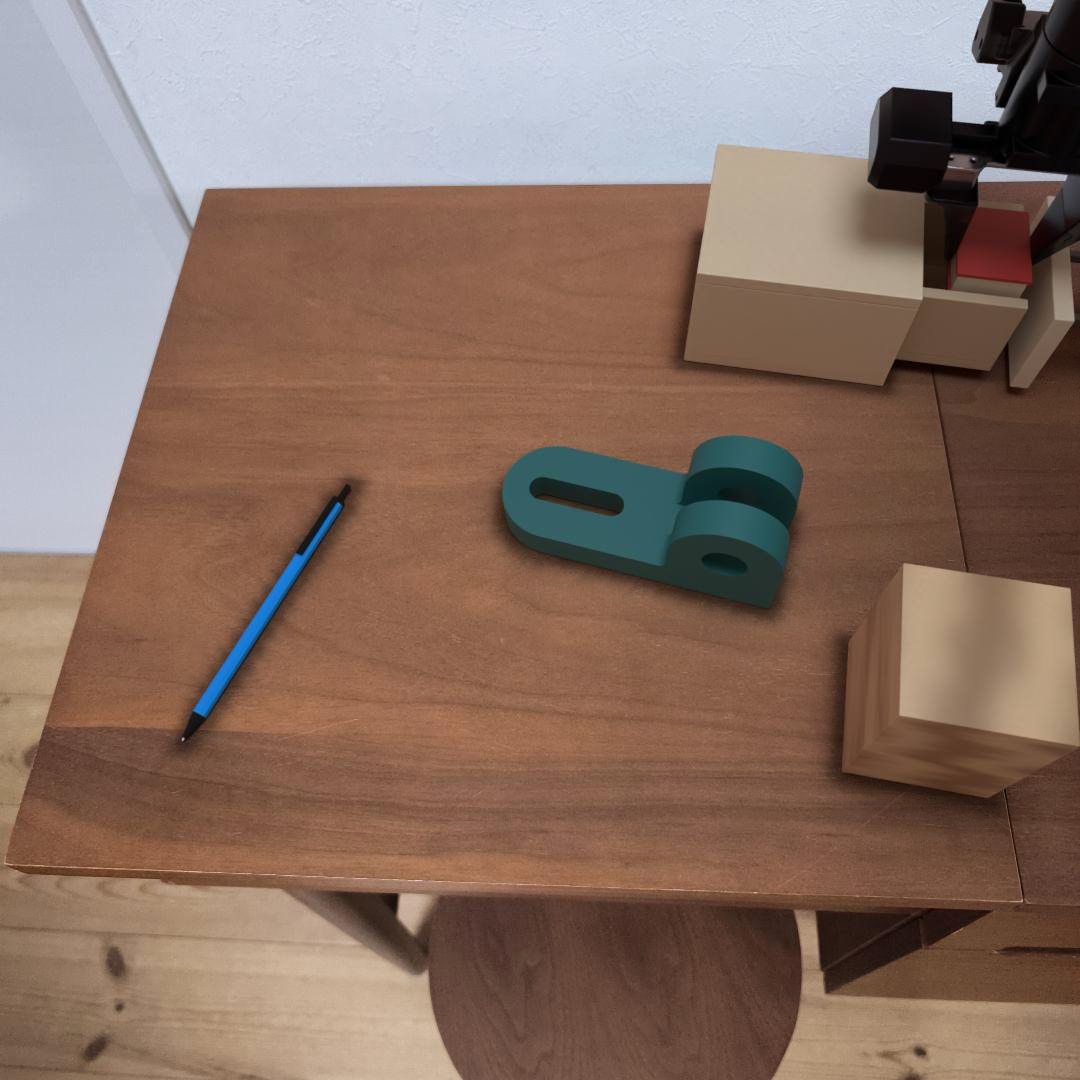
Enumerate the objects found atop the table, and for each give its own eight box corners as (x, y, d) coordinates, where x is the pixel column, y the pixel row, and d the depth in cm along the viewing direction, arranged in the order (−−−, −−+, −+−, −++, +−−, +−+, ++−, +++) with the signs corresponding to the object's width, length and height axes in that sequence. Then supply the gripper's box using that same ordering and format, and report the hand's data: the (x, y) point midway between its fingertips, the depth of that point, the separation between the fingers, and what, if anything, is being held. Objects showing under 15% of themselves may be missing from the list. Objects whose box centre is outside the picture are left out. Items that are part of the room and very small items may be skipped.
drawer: (1098, 279, 68) (1149, 205, 61) (1109, 399, 63) (1166, 332, 57) (845, 251, 70) (870, 176, 64) (837, 364, 65) (864, 296, 59)
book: (1016, 235, 63) (1029, 211, 61) (1019, 304, 60) (1032, 281, 58) (946, 227, 63) (957, 204, 61) (946, 295, 61) (957, 273, 59)
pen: (355, 491, 63) (351, 482, 62) (191, 745, 56) (183, 740, 55) (344, 486, 64) (340, 478, 63) (179, 739, 56) (171, 734, 55)
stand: (985, 664, 56) (1071, 587, 46) (988, 798, 52) (1081, 746, 43) (848, 641, 57) (903, 562, 47) (841, 772, 53) (899, 715, 44)
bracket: (787, 516, 61) (814, 450, 54) (768, 609, 58) (794, 552, 51) (522, 454, 64) (514, 384, 57) (491, 540, 61) (479, 477, 54)
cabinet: (887, 259, 71) (925, 164, 63) (882, 386, 65) (923, 299, 57) (702, 238, 72) (717, 143, 64) (683, 360, 67) (696, 272, 59)
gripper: (1278, -48, 50) (1127, 186, 64) (914, -74, 52) (845, 158, 66) (1314, 92, 45) (1141, 313, 59) (910, 57, 47) (836, 277, 61)
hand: (985, 259), depth 61 cm, fingers closed on book, 4 cm apart
